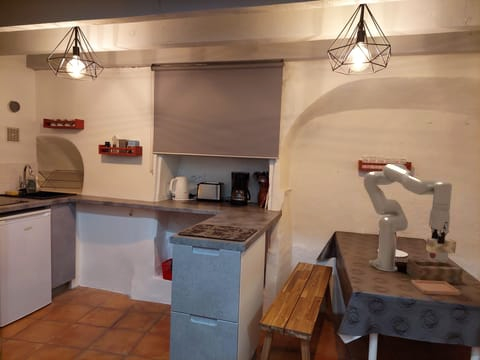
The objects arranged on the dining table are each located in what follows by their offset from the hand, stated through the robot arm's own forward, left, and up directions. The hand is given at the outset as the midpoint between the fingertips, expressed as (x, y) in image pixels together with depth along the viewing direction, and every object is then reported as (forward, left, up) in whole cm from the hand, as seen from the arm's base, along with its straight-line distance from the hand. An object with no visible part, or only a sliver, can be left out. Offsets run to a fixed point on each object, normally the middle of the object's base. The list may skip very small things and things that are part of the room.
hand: (437, 241), depth 163 cm
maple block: (+2, 0, -5) cm, 5 cm away
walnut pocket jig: (+9, +15, -25) cm, 30 cm away
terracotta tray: (+1, 0, -25) cm, 25 cm away
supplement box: (+21, +32, -25) cm, 46 cm away
